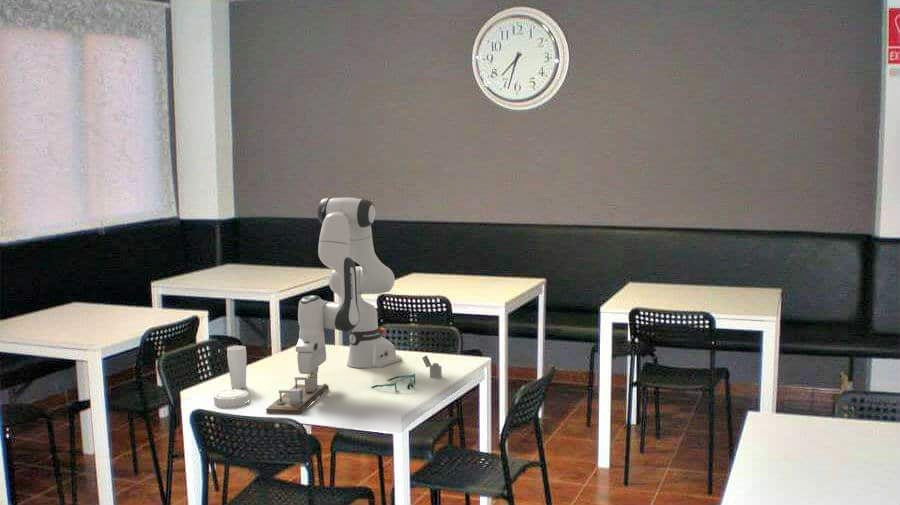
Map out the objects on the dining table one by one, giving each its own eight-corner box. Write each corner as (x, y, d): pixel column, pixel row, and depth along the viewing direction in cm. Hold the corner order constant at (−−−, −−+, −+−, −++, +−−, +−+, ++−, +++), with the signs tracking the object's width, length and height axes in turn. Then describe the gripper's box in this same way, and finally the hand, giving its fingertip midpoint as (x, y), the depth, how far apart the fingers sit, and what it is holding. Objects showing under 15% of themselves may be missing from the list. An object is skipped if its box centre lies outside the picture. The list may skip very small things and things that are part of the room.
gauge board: (296, 388, 360) (296, 384, 359) (328, 389, 357) (328, 384, 357) (266, 413, 331) (266, 408, 330) (300, 414, 328) (300, 409, 328)
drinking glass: (251, 385, 365) (249, 346, 363) (242, 390, 359) (239, 350, 357) (235, 384, 367) (233, 345, 365) (225, 389, 361) (223, 349, 359)
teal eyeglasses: (402, 394, 349) (400, 380, 349) (368, 393, 357) (366, 379, 357) (423, 384, 361) (422, 371, 360) (390, 383, 369) (388, 370, 368)
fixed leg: (302, 385, 358) (301, 371, 357) (326, 385, 356) (326, 372, 356) (274, 408, 331) (273, 393, 330) (300, 408, 329) (299, 394, 328)
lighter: (441, 377, 369) (441, 356, 368) (440, 378, 368) (439, 357, 367) (424, 375, 372) (423, 354, 371) (422, 376, 370) (421, 356, 369)
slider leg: (296, 389, 352) (296, 373, 351) (317, 389, 351) (316, 373, 350) (294, 391, 349) (293, 375, 348) (314, 391, 348) (314, 375, 347)
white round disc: (208, 402, 346) (207, 392, 345) (240, 395, 353) (239, 386, 353) (223, 410, 336) (222, 399, 336) (255, 403, 344) (254, 393, 343)
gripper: (313, 335, 361) (314, 372, 363) (293, 348, 341) (295, 387, 343) (329, 335, 360) (331, 372, 362) (311, 348, 340) (313, 387, 342)
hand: (313, 379), depth 352 cm, fingers closed
